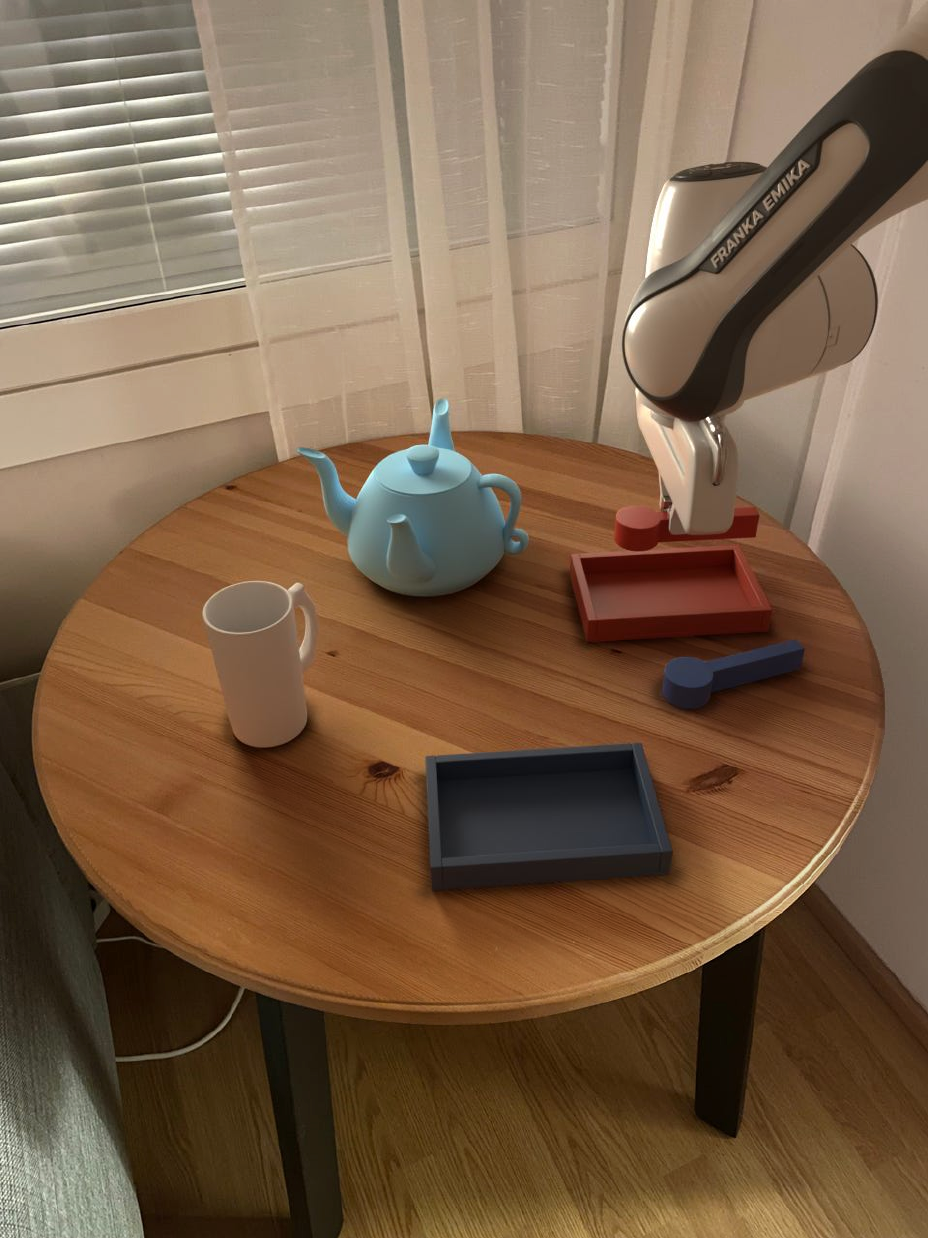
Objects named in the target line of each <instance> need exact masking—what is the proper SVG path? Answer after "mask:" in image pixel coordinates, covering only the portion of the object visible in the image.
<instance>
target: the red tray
mask: <svg viewBox="0 0 928 1238" xmlns="http://www.w3.org/2000/svg"><path fill="white" fill-rule="evenodd" d="M569 577H570V581H571V585H572V589H573V593H574V597H575V600H576V605H577V608H578V613H579V617H580V620H581V624H582V628H583V632H584V636H585V641H586V642H587V643H596V642H597V643H598V642H613V641H614V642H615V641H631V640H647V639H648V640H649V639H663V638H679V637H680V638H681V637H683V638H684V637H697V636H698V637H699V636H713V635H715V636H716V635H730V634H731V635H732V634H748V633H765V632H769V629H770V625H771V620H772V615H773V608H772V606H771V603H770V602H769V600H768V598H767V596H766V594H765V592H764V590H763V588H762V586H761V583H760V582H759V580H758V578H757V575H756V574H755V572H754V571H753V569H752V566H751V565H750V563H749V560H748V559H747V557H746V555H745V553H744V551H743V548H742V546H741V544H728V545H727V544H726V545H724V544H723V545H710V546H709V545H708V546H693V547H674V548H673V547H672V548H653V549H650V550H647V551H630V550H620V551H605V552H604V551H602V552H585V553H583V552H581V553H570V564H569Z"/></svg>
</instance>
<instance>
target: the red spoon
mask: <svg viewBox="0 0 928 1238" xmlns="http://www.w3.org/2000/svg"><path fill="white" fill-rule="evenodd" d="M667 512H668V511H666V512H662V511H657V510H656V509H654V508H652V507H649V506H645V505H640V504H639V505H638V504H637V505H636V504H635V505H627V506H624V507H622V508H620V509H619V510H618V511H617V512H616V514H615V521H614V534H613V540H614V543H615V544H616V545H617V546H618V547H620V548H622V549H623V550H625V551H647V550H653V549H655V548H656V547H657V546H658V544H659V543H673V542H675V543H676V542H693V541H713V540H714V541H715V540H730V539H731V540H733V539H750V538H752V539H753V538H756V537H757V531H758V526H759V521H760V513H759V511H758V510H757V508H756V506H751V507H750V506H749V507H735V510H734V518H733V523H732V525H731V527H730V528H729V529H728V531H727V532H725V533H721V534H709V535H689V534H687V533H686V534H676V535H673V534H671V533H670V531H669V528H668V525H667V523H666V522H667Z"/></svg>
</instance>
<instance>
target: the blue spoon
mask: <svg viewBox="0 0 928 1238" xmlns="http://www.w3.org/2000/svg"><path fill="white" fill-rule="evenodd" d="M805 651H806V647H804V646H803V644H801V643H800V641H798V639H795V638H794V639H791V640H786V641H783V642H779V643H775V644H771V645H767V646H763V647H759V648H755V649H751V650H747V651H743V652H739V653H735V654H731V655H727V656H725V657H724V656H722V657H719V658H715V659H712V660H708V661H704V660H702V659H699V658H697V657H692V656H679V657H676V658H673V659H671V660H670V661H668V662H667V663H666V665H665V667H664V671H663V678H662V679H663V680H662V687H661V693H662V694H661V695H662V697H663V698H664V699H665V700H666V702H667V703H669V704H670V705H672V706H674V707H675V708H678V709H683V710H695V709H699V708H701V707H704V706H705V705H706V704H708V702H709V701H710V699H711V693H716V692H719V691H723V690H727V689H730V688H735V687H739V686H743V685H747V684H750V683H754V682H758V681H761V680H765V679H766V680H767V679H769V678H773V677H777V676H781V675H784V674H785V675H786V674H789V673H792V672H796V671H799V670H801V668H802V664H803V659H804V654H805Z"/></svg>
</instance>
